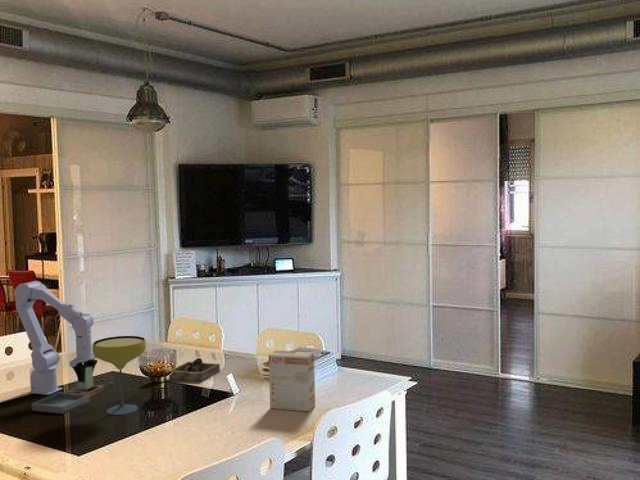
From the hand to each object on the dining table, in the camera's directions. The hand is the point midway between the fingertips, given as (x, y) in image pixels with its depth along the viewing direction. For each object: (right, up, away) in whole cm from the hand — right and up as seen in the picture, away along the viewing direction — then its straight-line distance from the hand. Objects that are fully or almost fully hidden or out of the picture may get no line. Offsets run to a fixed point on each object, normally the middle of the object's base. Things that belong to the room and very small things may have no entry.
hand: (85, 380), depth 248 cm
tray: (-3, -6, -15) cm, 17 cm away
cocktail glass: (+21, -6, -22) cm, 31 cm away
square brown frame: (0, -5, 0) cm, 5 cm away
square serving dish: (+39, -3, +21) cm, 44 cm away
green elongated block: (0, -3, 0) cm, 3 cm away
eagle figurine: (+38, -3, +23) cm, 45 cm away
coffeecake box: (+82, -5, -22) cm, 85 cm away
